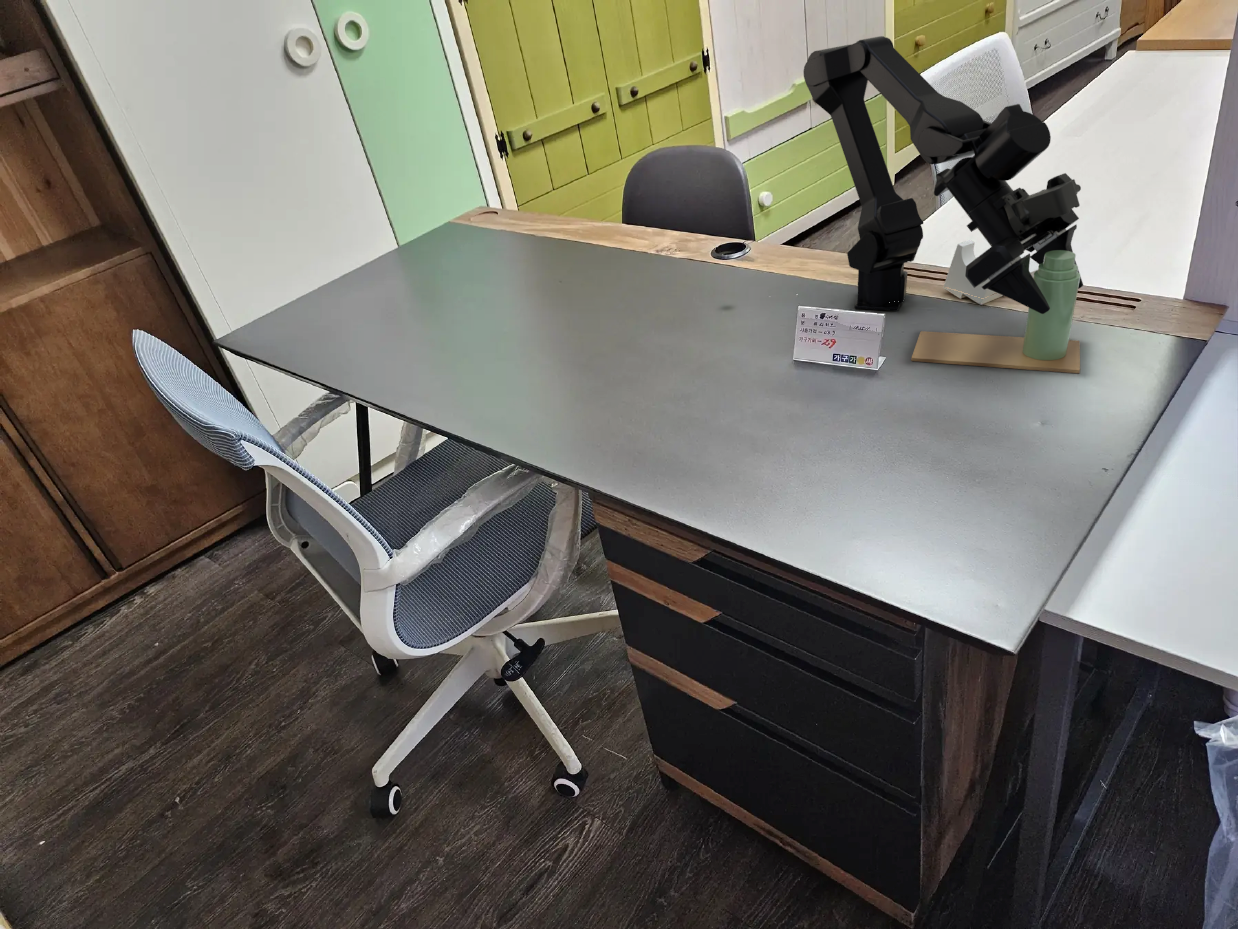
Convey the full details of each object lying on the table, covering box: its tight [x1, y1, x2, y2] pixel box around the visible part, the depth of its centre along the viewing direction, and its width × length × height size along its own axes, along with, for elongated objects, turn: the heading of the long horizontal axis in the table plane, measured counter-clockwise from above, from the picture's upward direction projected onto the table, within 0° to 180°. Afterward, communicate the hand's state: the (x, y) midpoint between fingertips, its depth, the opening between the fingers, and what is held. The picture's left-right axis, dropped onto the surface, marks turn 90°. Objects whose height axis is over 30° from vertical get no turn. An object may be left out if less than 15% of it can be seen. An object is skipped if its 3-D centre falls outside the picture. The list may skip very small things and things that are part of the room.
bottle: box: [1022, 250, 1081, 360], centre depth 106 cm, size 5×5×13 cm
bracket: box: [943, 239, 1039, 306], centre depth 129 cm, size 13×7×8 cm, turn 121°
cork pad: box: [910, 330, 1081, 374], centre depth 112 cm, size 20×9×1 cm, turn 66°
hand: (1063, 299), depth 105 cm, fingers open, 9 cm apart
